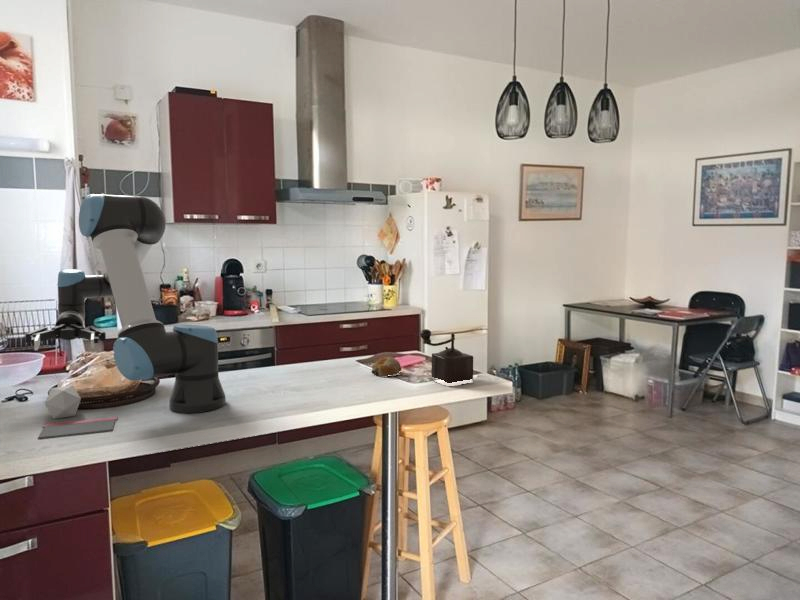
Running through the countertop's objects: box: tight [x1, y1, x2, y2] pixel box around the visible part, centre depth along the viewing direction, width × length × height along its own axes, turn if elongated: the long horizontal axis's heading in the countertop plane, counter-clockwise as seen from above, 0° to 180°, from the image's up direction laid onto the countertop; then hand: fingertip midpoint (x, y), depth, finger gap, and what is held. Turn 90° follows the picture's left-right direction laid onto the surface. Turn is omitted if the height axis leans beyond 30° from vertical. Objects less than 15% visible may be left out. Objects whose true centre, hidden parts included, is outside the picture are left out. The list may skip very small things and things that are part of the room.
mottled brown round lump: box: [370, 356, 402, 377], centre depth 205 cm, size 10×10×8 cm
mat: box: [37, 420, 116, 440], centre depth 145 cm, size 16×8×1 cm, turn 112°
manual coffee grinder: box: [419, 328, 474, 383], centre depth 193 cm, size 16×11×18 cm
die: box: [44, 385, 82, 420], centre depth 156 cm, size 8×9×10 cm
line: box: [42, 416, 119, 428], centre depth 151 cm, size 17×2×1 cm, turn 112°
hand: (64, 344), depth 161 cm, fingers open, 13 cm apart
